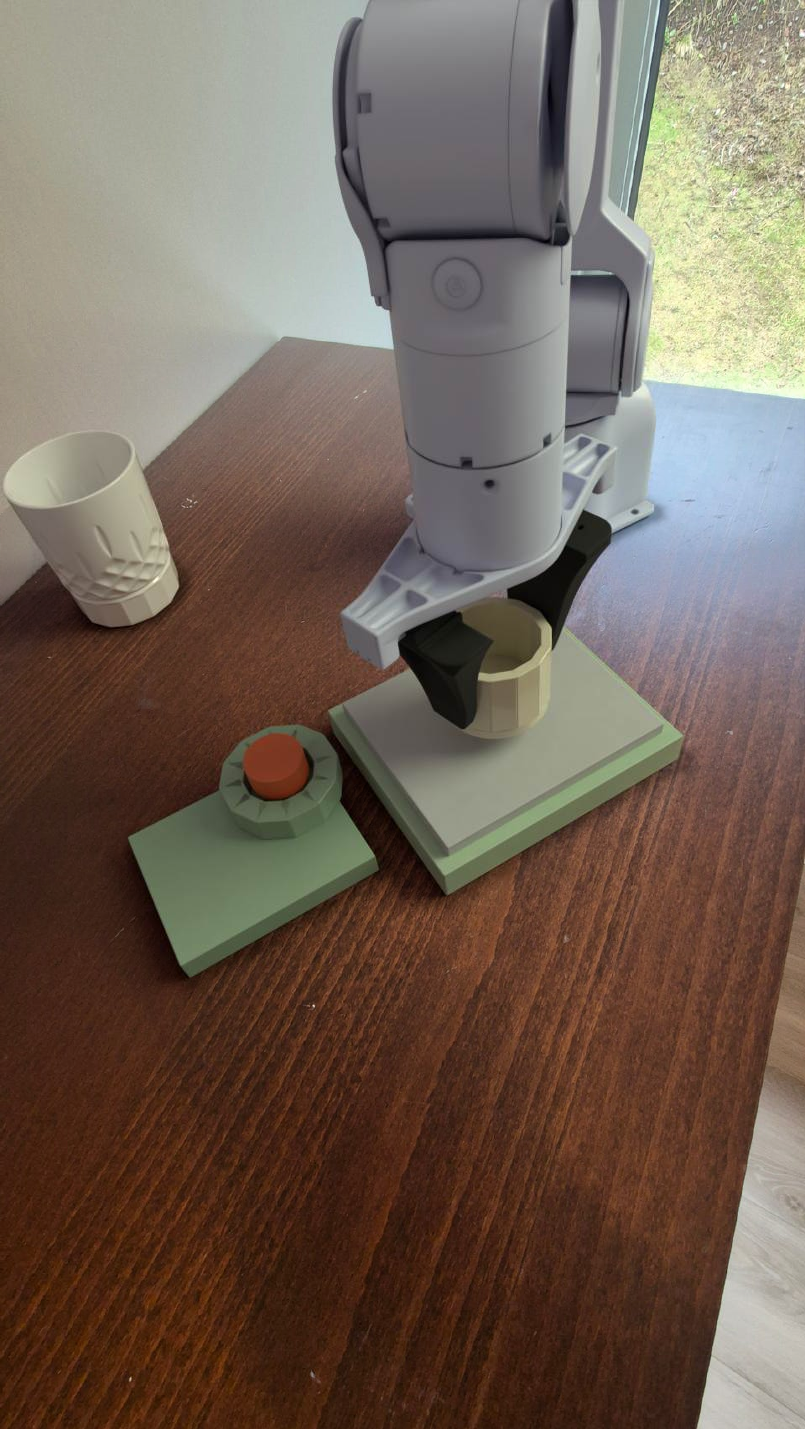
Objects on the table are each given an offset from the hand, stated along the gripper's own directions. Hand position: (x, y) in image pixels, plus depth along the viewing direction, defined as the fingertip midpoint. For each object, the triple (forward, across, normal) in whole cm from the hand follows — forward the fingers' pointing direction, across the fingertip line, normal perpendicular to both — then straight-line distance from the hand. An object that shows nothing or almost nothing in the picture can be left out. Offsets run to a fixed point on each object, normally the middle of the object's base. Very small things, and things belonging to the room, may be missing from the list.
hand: (495, 678), depth 40 cm
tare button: (+3, +10, -6) cm, 12 cm away
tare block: (+5, +13, -5) cm, 15 cm away
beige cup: (+1, 0, 0) cm, 1 cm away
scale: (+5, 0, 0) cm, 5 cm away
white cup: (+6, +6, -28) cm, 29 cm away
